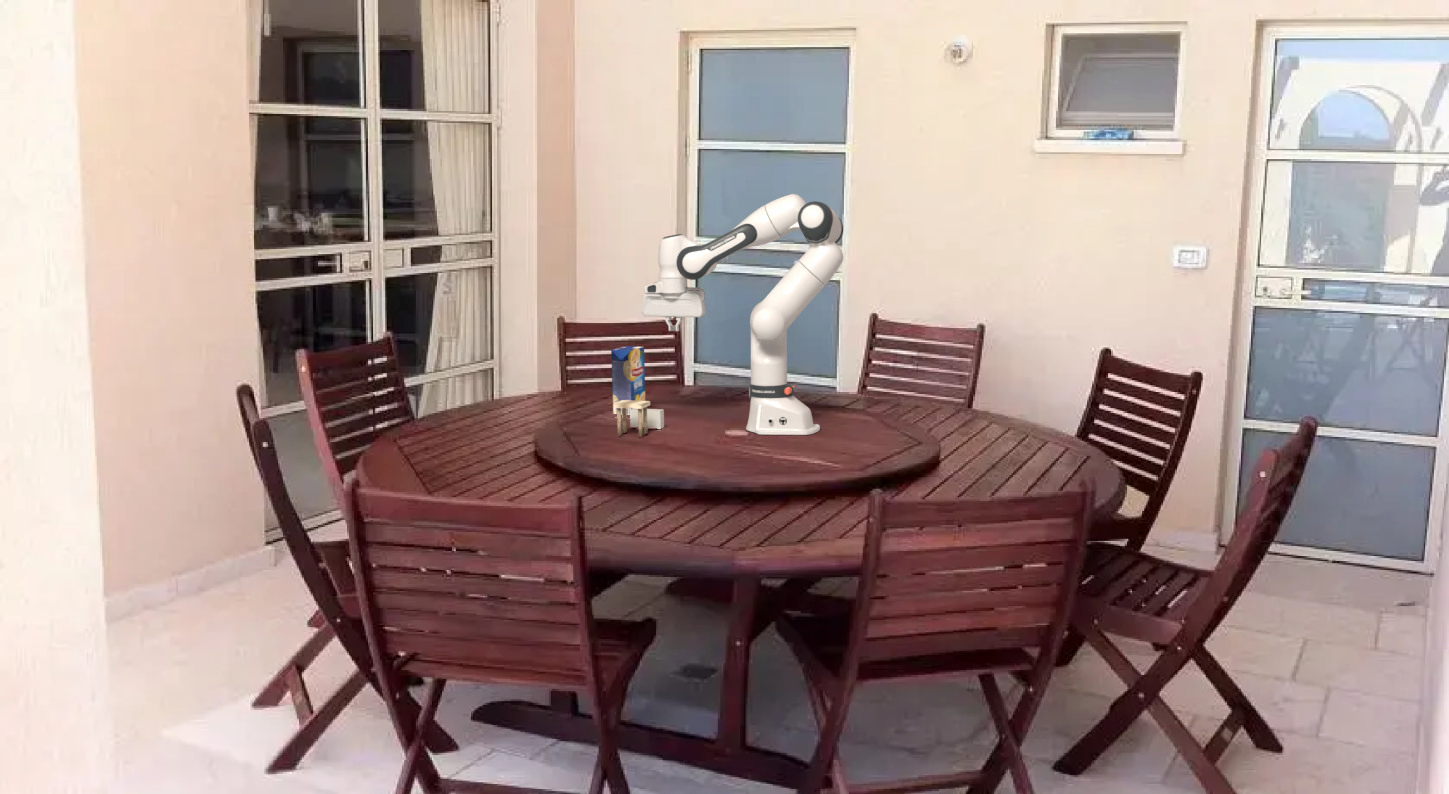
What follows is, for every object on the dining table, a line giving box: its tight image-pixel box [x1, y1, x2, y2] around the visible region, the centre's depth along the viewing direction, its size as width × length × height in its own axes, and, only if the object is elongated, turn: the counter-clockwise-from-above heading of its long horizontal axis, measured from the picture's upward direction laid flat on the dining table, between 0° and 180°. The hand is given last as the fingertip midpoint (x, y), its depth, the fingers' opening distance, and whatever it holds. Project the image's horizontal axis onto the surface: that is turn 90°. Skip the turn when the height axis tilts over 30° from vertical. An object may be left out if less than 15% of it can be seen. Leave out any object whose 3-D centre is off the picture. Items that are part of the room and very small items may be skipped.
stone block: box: [629, 408, 665, 429], centre depth 417 cm, size 10×3×6 cm, turn 72°
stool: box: [612, 400, 651, 437], centre depth 405 cm, size 9×7×10 cm
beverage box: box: [610, 345, 646, 415], centre depth 441 cm, size 7×11×22 cm, turn 160°
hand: (674, 331), depth 422 cm, fingers closed
